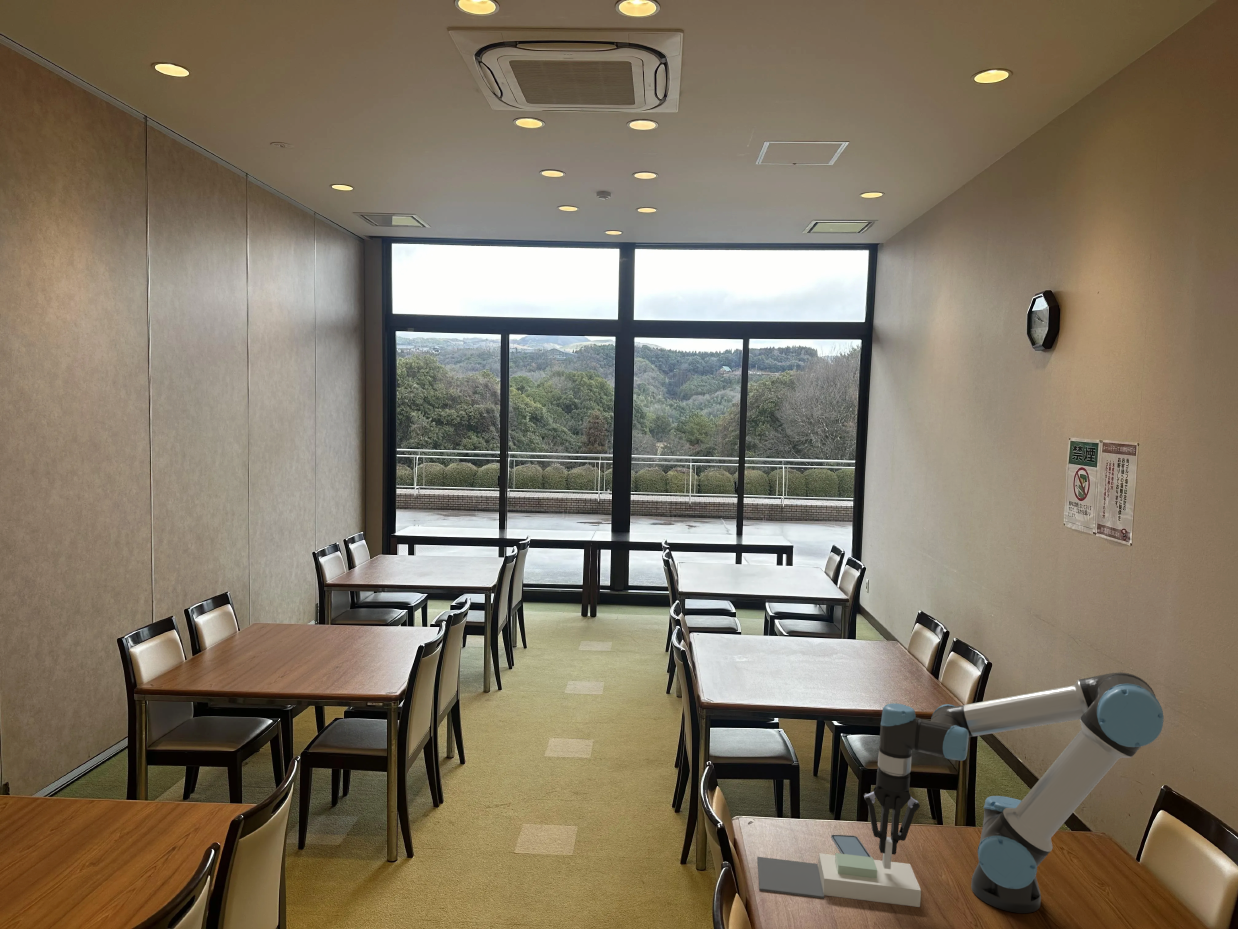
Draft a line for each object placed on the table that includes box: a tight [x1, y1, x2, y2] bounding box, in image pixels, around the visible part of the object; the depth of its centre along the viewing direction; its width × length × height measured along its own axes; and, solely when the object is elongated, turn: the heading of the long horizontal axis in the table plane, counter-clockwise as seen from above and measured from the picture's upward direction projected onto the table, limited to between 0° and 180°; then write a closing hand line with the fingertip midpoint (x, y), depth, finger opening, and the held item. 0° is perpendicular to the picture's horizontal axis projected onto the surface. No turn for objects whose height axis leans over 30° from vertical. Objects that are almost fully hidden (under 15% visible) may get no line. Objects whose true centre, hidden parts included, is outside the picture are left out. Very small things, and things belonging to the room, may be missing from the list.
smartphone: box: [830, 834, 872, 857], centre depth 215 cm, size 7×1×15 cm
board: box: [817, 852, 922, 908], centre depth 197 cm, size 22×12×4 cm, turn 82°
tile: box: [834, 852, 877, 878], centre depth 198 cm, size 9×6×2 cm, turn 82°
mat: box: [757, 856, 825, 899], centre depth 200 cm, size 15×15×1 cm
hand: (886, 866), depth 197 cm, fingers closed
